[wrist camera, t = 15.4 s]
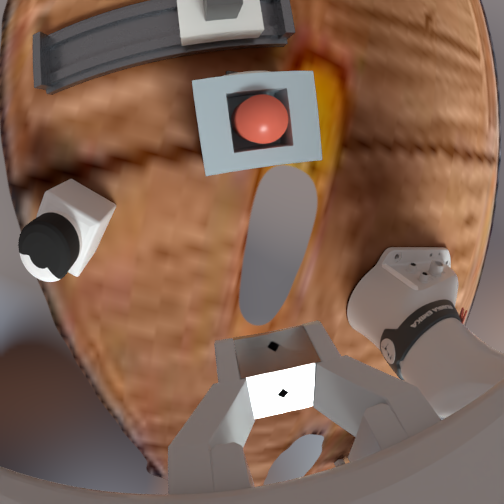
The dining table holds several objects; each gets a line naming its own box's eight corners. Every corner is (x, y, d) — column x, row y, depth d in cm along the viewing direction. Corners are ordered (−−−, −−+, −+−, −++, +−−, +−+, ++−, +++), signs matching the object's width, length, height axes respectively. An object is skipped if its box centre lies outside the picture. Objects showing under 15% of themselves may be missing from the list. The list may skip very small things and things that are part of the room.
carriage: (250, -13, 22) (263, -41, 16) (258, 37, 25) (274, 16, 18) (176, -6, 21) (173, -35, 15) (182, 46, 24) (178, 24, 18)
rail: (274, -8, 24) (284, -22, 20) (283, 46, 28) (295, 36, 24) (49, 39, 21) (33, 31, 17) (52, 94, 25) (34, 92, 21)
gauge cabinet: (279, 77, 29) (311, 60, 20) (288, 150, 33) (322, 160, 24) (192, 86, 28) (190, 69, 19) (203, 162, 32) (205, 176, 23)
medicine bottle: (70, 177, 29) (20, 202, 19) (117, 204, 32) (84, 242, 21) (51, 226, 31) (5, 267, 20) (95, 252, 34) (62, 303, 23)
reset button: (271, 97, 24) (285, 92, 20) (276, 138, 26) (290, 140, 22) (228, 102, 24) (234, 97, 20) (234, 144, 26) (241, 146, 22)
